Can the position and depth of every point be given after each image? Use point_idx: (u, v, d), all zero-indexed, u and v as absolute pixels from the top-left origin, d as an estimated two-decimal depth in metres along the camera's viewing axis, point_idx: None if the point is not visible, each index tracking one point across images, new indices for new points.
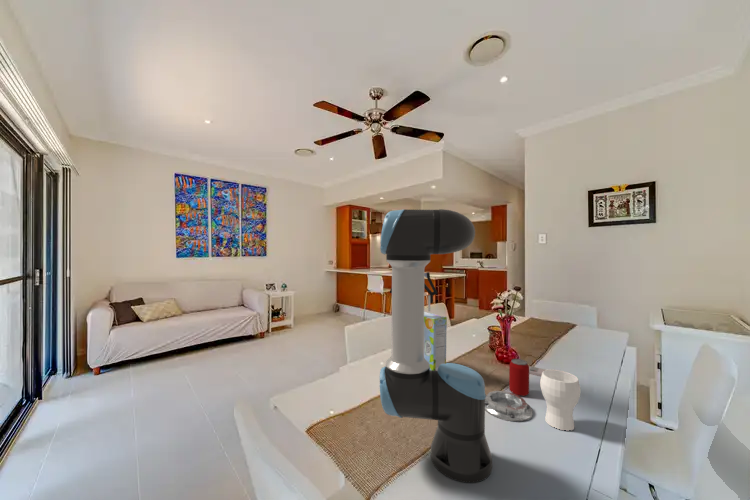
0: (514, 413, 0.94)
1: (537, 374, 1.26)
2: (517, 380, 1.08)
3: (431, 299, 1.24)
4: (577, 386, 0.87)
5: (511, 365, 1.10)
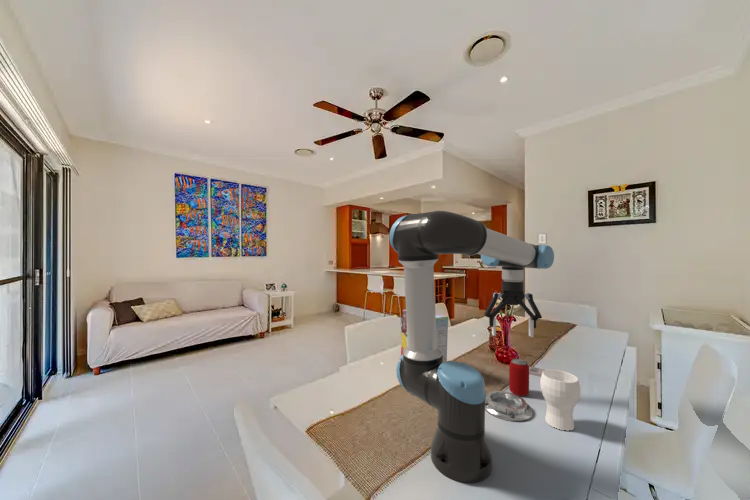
0: (514, 413, 0.94)
1: (537, 374, 1.26)
2: (517, 380, 1.08)
3: (534, 324, 1.10)
4: (577, 386, 0.87)
5: (511, 365, 1.10)
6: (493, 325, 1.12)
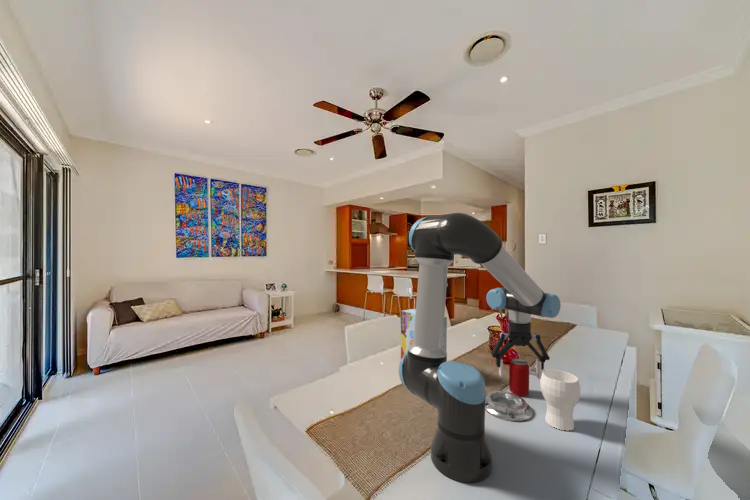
0: (514, 413, 0.94)
1: None
2: (517, 380, 1.08)
3: (542, 365, 1.09)
4: (577, 386, 0.87)
5: (511, 365, 1.10)
6: (500, 366, 1.11)
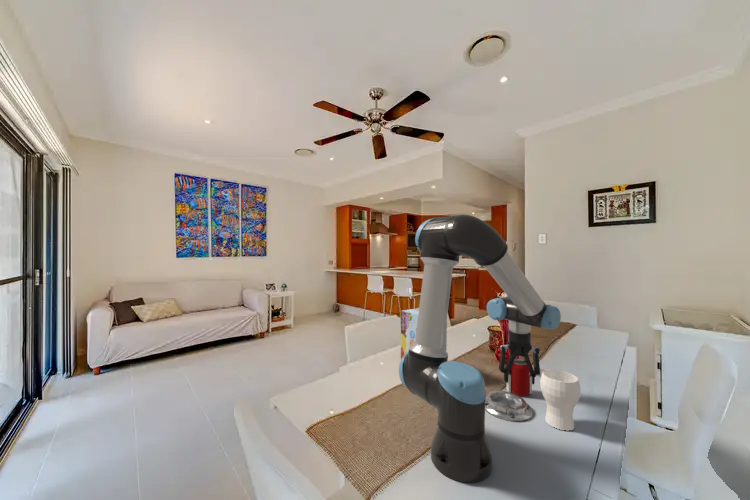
0: (514, 413, 0.94)
1: (537, 375, 1.26)
2: (517, 380, 1.08)
3: (532, 380, 1.10)
4: (577, 386, 0.87)
5: None
6: (508, 381, 1.11)
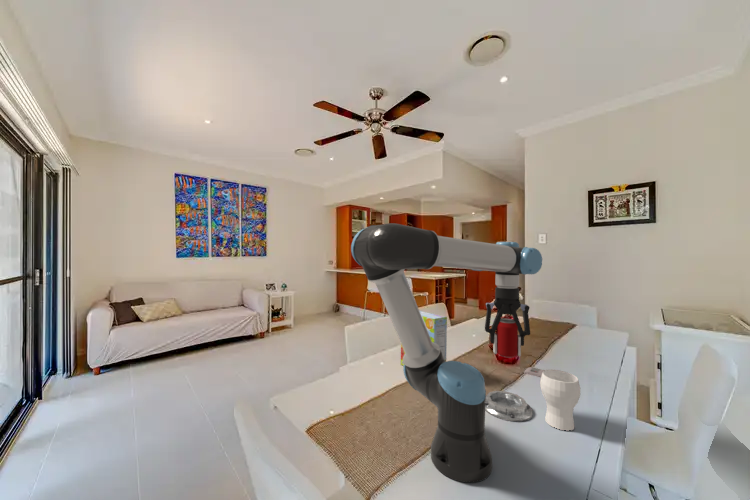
0: (514, 413, 0.94)
1: (537, 375, 1.25)
2: (503, 340, 0.98)
3: (521, 340, 0.98)
4: (577, 386, 0.87)
5: None
6: (494, 342, 1.00)
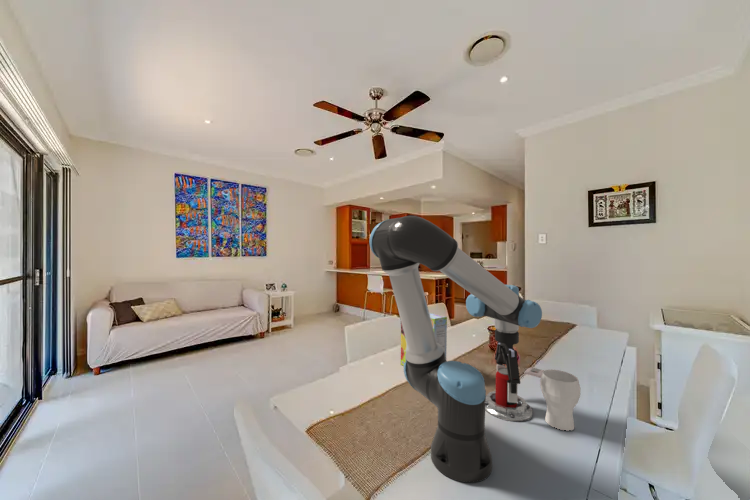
0: (514, 413, 0.94)
1: (537, 375, 1.25)
2: None
3: (511, 387, 0.93)
4: (577, 386, 0.87)
5: None
6: None
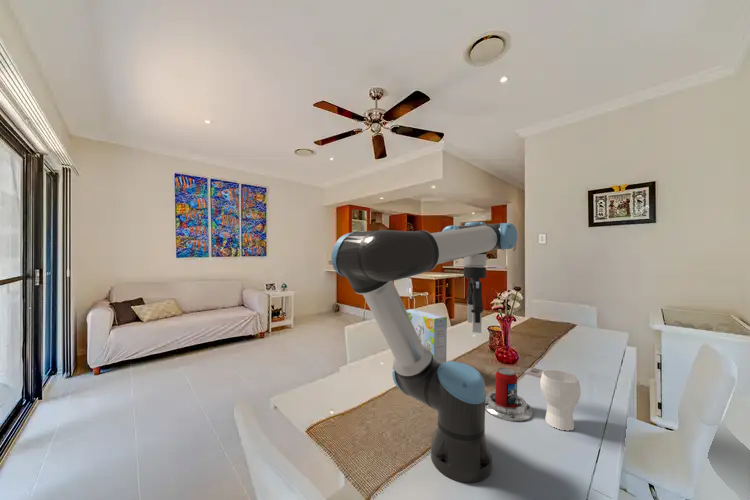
0: (514, 413, 0.94)
1: (537, 375, 1.25)
2: None
3: (475, 317, 0.95)
4: (577, 386, 0.87)
5: None
6: None
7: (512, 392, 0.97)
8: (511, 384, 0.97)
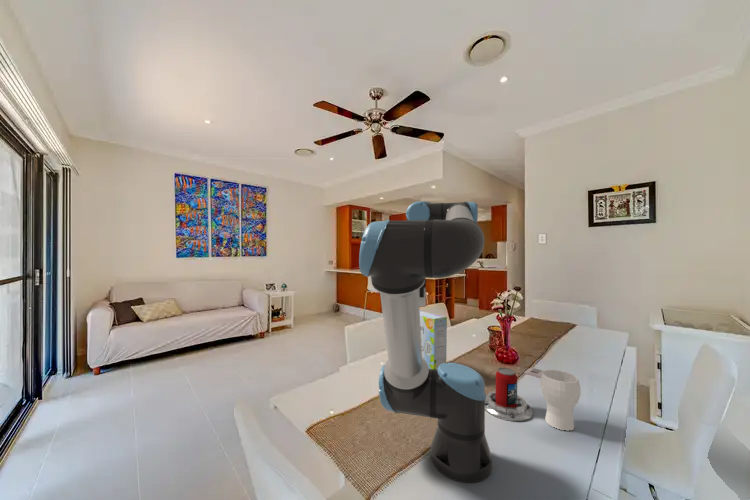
0: (514, 413, 0.94)
1: (537, 376, 1.24)
2: None
3: (419, 292, 0.99)
4: (577, 386, 0.87)
5: None
6: None
7: (512, 392, 0.97)
8: (511, 384, 0.97)
